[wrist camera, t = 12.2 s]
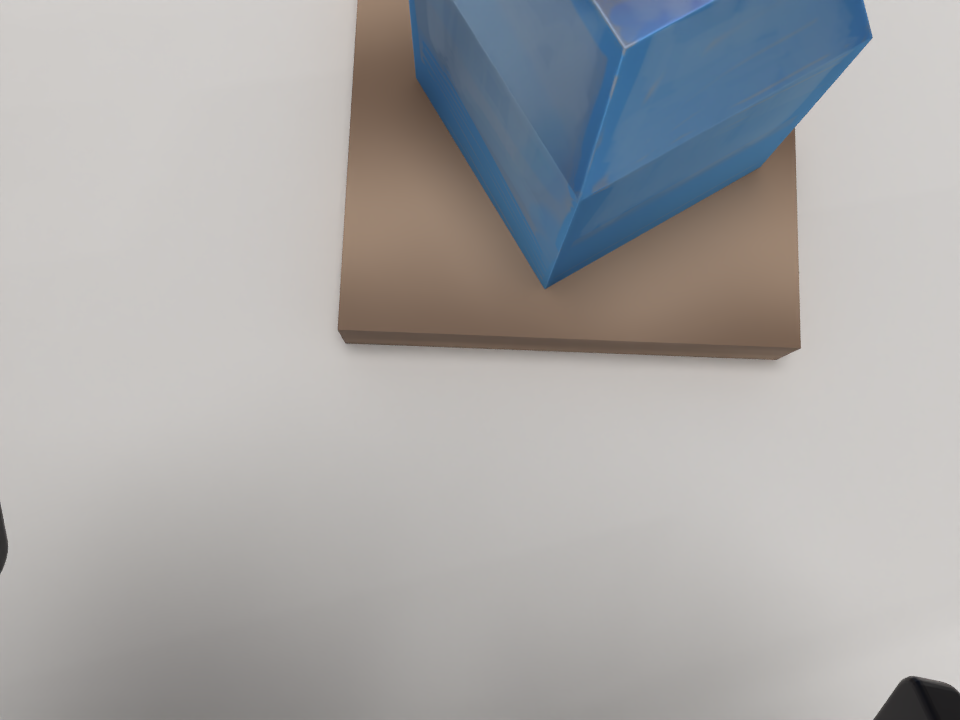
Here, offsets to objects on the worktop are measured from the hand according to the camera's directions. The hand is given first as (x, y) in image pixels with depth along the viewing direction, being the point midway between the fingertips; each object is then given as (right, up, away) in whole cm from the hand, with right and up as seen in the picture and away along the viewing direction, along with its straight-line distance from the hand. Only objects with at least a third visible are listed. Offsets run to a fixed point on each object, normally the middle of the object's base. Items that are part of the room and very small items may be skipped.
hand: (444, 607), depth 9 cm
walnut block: (+3, +8, +16) cm, 18 cm away
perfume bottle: (+3, +8, +14) cm, 16 cm away
